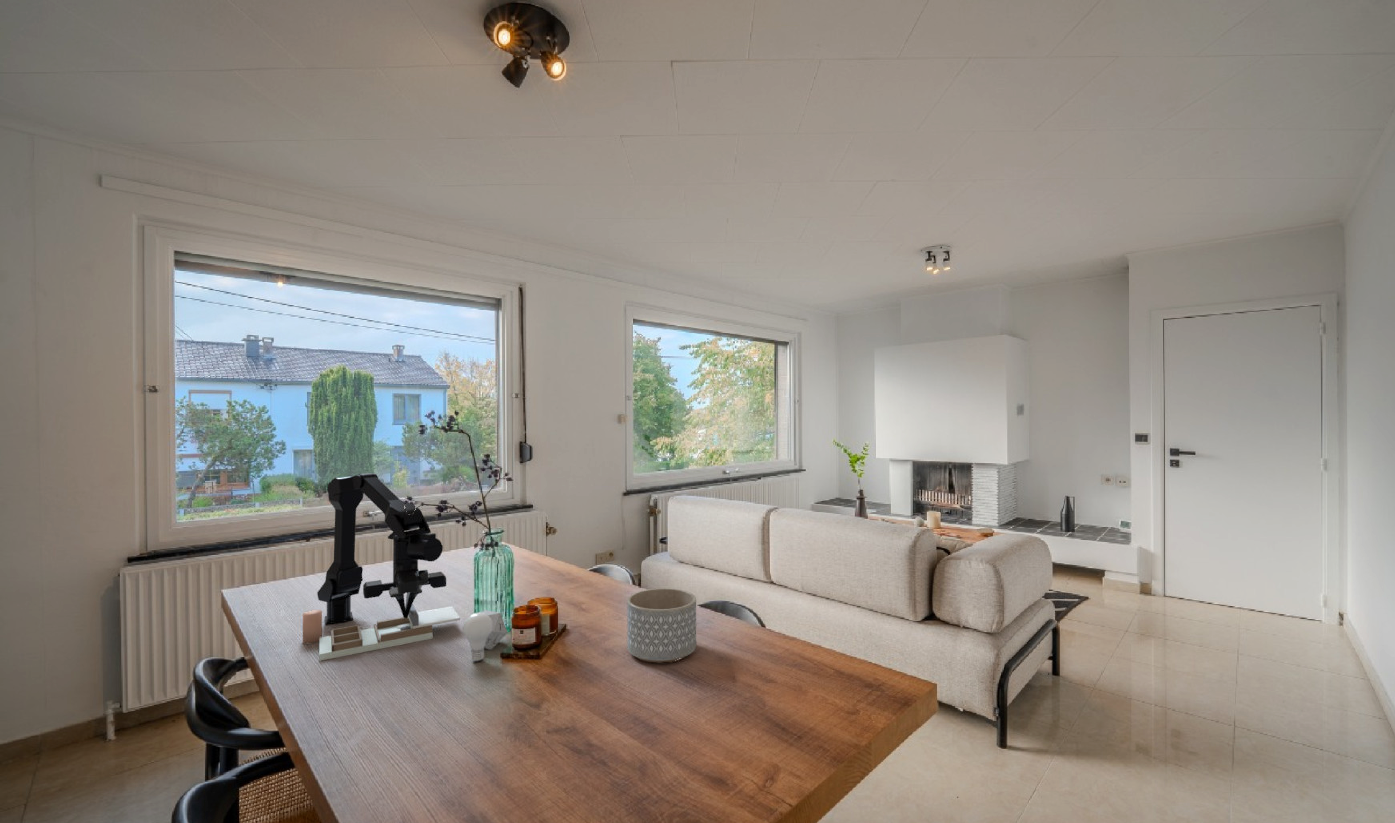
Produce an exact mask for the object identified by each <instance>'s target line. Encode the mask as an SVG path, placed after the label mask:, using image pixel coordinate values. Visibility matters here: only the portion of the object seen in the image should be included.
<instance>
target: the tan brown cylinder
mask: <svg viewBox="0 0 1395 823" xmlns="http://www.w3.org/2000/svg"><path fill="white" fill-rule="evenodd" d="M320 637H323V611H322V610H321V609H315V610H309V611H306V612H304V613H302V643H303V644H307V645H308V644H309V645H310V644H314V643H315V644H316V643H318V642H319V638H320Z"/></svg>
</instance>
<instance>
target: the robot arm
mask: <svg viewBox="0 0 1395 823" xmlns="http://www.w3.org/2000/svg"><path fill="white" fill-rule="evenodd" d="M364 495H365V496H366V497H367V498H368V499H369V500H370V501H371V502H372V503H373V504H374V505H375V506H376V507H377V508H378V510H380V511H381V512H382V513H383V514H384V522H385V524H386V525H387V526H388V528H389V529H390V531H392V532H391V533H390V534H389V535H388V536H387V539H389V540H392V544H393V545H392V546H393V547H392V559H393V560H392V582H391V581H390V582H386V583H385V582H383V583H382V580H380V579H379V580H371V581H366V582H364V583H363V586H362V587H363V588H362V594H363V598H364V599H372V598H378V597H380V596H382V595H383V592H387V591H388V594H389V596H390V598H391V599H392V598H393V599H396V602H397V603H398V605H399V608H400V610H401V614H402V617H404V618H407V617H408V615H409V612H410V609H411V606H412V604H414V601H415V599H416V598H417V596H418V594H422V593H423V590H422V587H423V586H427V585H428V586H429V585H430V587H431V588H433V589H438V588H445V587H447V576H446V575H445V574H444V573H443V572H442V571H436V572H429V571H428V569H421V570H419V561H425V562H436V561H437V560H438V559H439V558H440V557H441V555H442V552H443V548H444V546H443V545H442V542H441V540H440V539H439V538H437V534H436V533H434V532H432V533H431V529H430V525H429V524H428V522H427V521H426V518H425V517H424V514H423V512H422V511H421V509H420V508H419V507H417V508H416V510H415V506H416V505H414V504H413V503H411V502H407V501H404V500H402V499H400V498H399V497H398V496H397V495H395V493H393V491H391V490H390V489H389V488H388V487H387V485H385V484H384V483H383V482H382V481H381V480H380V479H379V477H378V475H377V473H373V472H368V473H367V472H366V473H358V474H357V475H353V476H345V477H344V476H343V477H335V478H332V479H331V481H329V482H328V484H327V496H328V502H330V504H331V506H332V507H333V508H334V539H333V541H334V543H333V561H332V563H331V565H330V566H329V567H328V569H327V571H326V572H325V573H326V574H325V578H324V579H325V580H324V583H323V584H322V585H321V587H320V588H319V590H318V591H317V592H316V595H317V599H318V601H320V602H324V603H326V615H325V616H324V624H325V625H330V624H337V623H343V622H348V621H353V620H354V618H353V612H352V611H351V610H352V608H351V607H352V606H351V605H352V596H355V595H358V594H360V590H361V585H362V582H363V580H364V578H363V570H364V568H363V566H359V565H358V563H357V561H356V560H355V556H356V555H355V551H356V548H355V547H356V529H357V528H356V526H357V524H356V523H357V509H358V506H360V503H361V502H362V500H363V498H364ZM406 502H407V503H406ZM404 503H406V505H405V507H406V511H407V514H412V513H413V512H414V514H413V515H407V514H406V511H405V510H404ZM414 510H415V511H414ZM405 594H406V597H405Z"/></svg>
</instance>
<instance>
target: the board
mask: <svg viewBox="0 0 1395 823" xmlns="http://www.w3.org/2000/svg"><path fill="white" fill-rule="evenodd" d="M431 639H434V638H433V625H431V626H425V627H420V628H415V629H413V627H412V625H411V622H410V620H409V618H408V617H407V618H404V617H403V616H401V617H400V616H399V617H395V618H390V619H383V620H377V621H376V624H374V625H373V627H371V628H366V629H361V624H356V625H349V626H345V627H339V628H333V629H330V635H327V636H322V637H320V638H319V641H318V642H319V644H318V646H319V647H318V648H319V649H318V650H319V653H318V654H319V656H318V657H319V660H318V661H320V662H321V661H326V660H330V659H331V660H332V659H336V658H341V657H345V656H346V657H347V656H351V655H356V654H361V653H366V652H370V651H376V650H380V649H386V648H391V647H396V646H401V645H406V644H411V643H412V644H413V643H416V642H422V641H427V640H431Z"/></svg>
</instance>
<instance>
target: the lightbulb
mask: <svg viewBox="0 0 1395 823" xmlns="http://www.w3.org/2000/svg"><path fill="white" fill-rule="evenodd" d="M481 612H482V611H480V612H479V611H478V612H475V613H471V615H469V616H468V617H467V618H466V619H465V621H464V623H463V626H462V630H463V631H462V632H463V634H464V637H465V638H466V640H467V641H468V643H469V646H470V649H471V660H472V661H473V662H476V663H477V662H481V661H483V659H484V658H485V648H484V647H485V644H486V640H487V638H488V636H489V635H490V633H491V631H492V626H493V624H492V620H491V618H490V617H489V616H488V615H487V614H485V613H481Z"/></svg>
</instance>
